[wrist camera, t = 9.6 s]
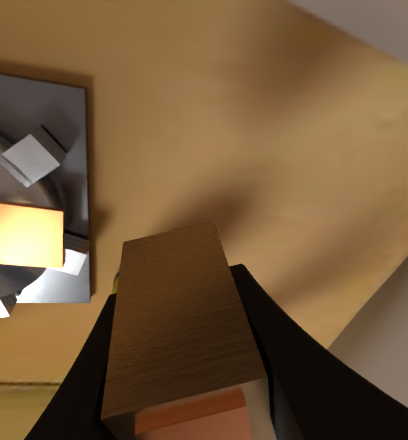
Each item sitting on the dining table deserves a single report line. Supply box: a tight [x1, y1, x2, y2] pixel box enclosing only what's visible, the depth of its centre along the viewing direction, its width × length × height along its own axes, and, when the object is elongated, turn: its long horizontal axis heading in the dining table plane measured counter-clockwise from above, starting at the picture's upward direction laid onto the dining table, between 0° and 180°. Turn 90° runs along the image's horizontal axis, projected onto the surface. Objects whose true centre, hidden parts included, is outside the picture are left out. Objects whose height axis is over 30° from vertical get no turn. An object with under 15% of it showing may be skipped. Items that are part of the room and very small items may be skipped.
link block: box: [101, 222, 271, 440], centre depth 9 cm, size 4×4×6 cm
